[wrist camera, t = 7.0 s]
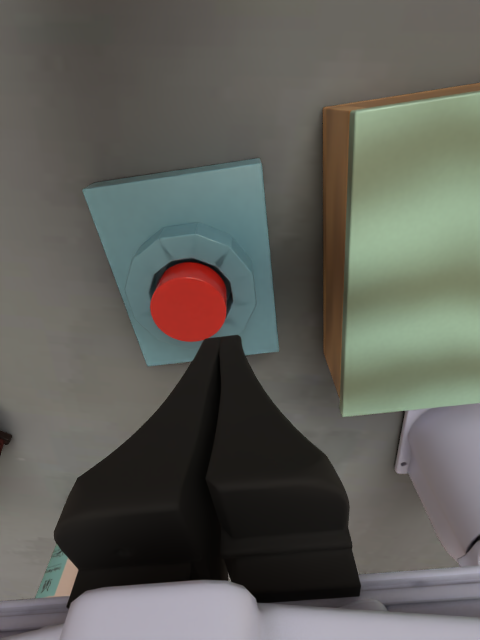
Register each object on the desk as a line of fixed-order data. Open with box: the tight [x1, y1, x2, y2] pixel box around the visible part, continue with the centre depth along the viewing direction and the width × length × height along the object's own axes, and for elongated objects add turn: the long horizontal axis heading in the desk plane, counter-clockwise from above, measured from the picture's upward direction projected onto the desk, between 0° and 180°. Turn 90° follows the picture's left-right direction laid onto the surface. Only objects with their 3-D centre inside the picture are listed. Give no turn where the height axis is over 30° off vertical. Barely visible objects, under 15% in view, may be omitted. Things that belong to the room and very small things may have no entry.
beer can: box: [35, 543, 78, 598], centre depth 28 cm, size 5×5×12 cm
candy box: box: [323, 83, 480, 398], centre depth 17 cm, size 14×12×4 cm
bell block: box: [82, 158, 279, 366], centre depth 19 cm, size 11×8×3 cm
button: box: [150, 262, 227, 342], centre depth 17 cm, size 4×4×2 cm
